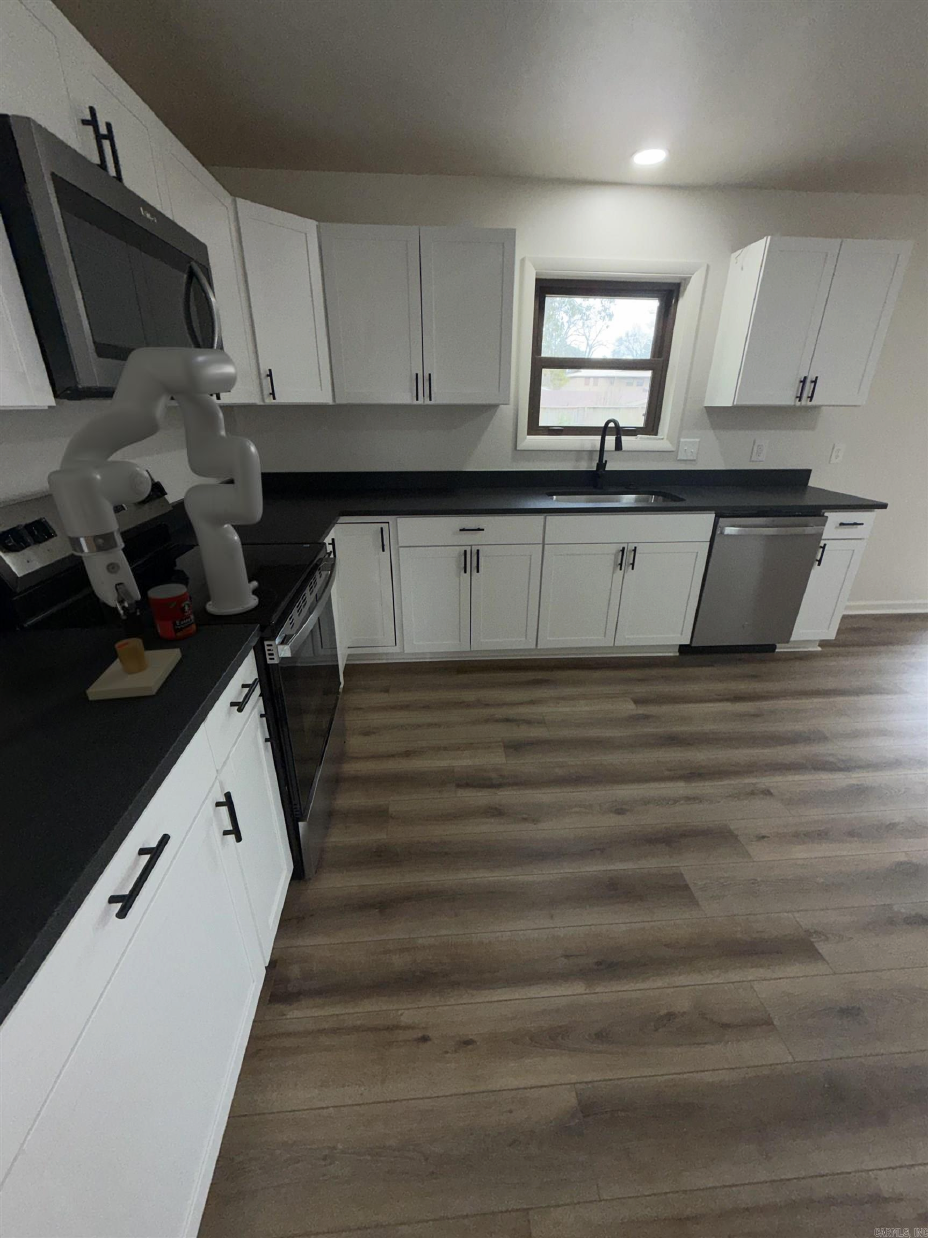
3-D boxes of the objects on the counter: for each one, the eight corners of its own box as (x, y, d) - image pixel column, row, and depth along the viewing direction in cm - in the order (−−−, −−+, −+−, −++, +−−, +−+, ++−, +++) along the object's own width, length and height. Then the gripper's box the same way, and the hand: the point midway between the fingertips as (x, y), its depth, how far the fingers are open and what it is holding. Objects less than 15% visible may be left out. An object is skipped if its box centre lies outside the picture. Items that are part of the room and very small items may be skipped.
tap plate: (125, 660, 104) (122, 651, 103) (181, 656, 106) (179, 647, 105) (89, 700, 91) (85, 690, 90) (154, 694, 92) (151, 684, 91)
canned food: (181, 641, 112) (169, 596, 107) (151, 638, 114) (138, 594, 109) (204, 627, 119) (194, 584, 114) (175, 624, 120) (164, 582, 116)
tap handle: (137, 660, 100) (129, 635, 98) (154, 664, 99) (146, 638, 96) (117, 671, 96) (108, 644, 94) (134, 675, 95) (126, 648, 92)
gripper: (139, 545, 84) (166, 634, 92) (104, 528, 95) (131, 609, 102) (88, 557, 79) (121, 649, 87) (57, 537, 89) (89, 621, 97)
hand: (126, 627), depth 94 cm, fingers open, 9 cm apart
